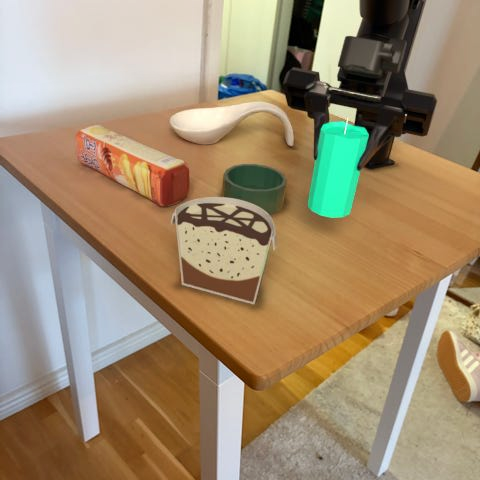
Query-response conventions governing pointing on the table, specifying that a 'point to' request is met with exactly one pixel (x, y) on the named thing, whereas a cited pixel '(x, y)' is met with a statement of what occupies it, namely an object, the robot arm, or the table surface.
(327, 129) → the candle
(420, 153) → the table surface
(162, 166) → the snack package
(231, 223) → the food container
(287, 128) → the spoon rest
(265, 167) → the bowl
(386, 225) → the table surface
